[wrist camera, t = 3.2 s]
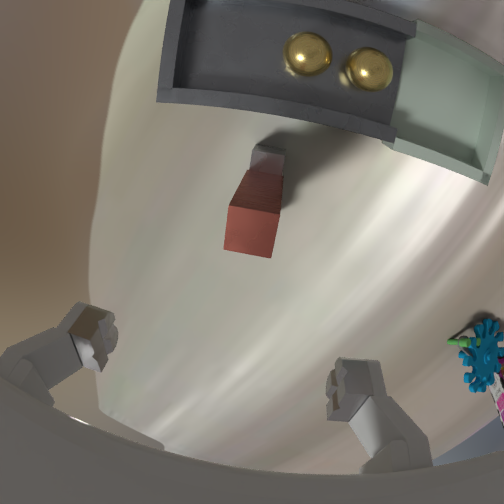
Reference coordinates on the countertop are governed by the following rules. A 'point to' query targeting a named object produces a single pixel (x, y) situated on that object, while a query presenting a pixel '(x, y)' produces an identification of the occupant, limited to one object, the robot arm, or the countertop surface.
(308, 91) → the tray
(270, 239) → the red-brown bar
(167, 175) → the countertop surface
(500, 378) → the candy bar box
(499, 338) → the gear
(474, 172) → the tray
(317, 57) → the yellow-brown round piece
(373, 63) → the shiny gold ball
